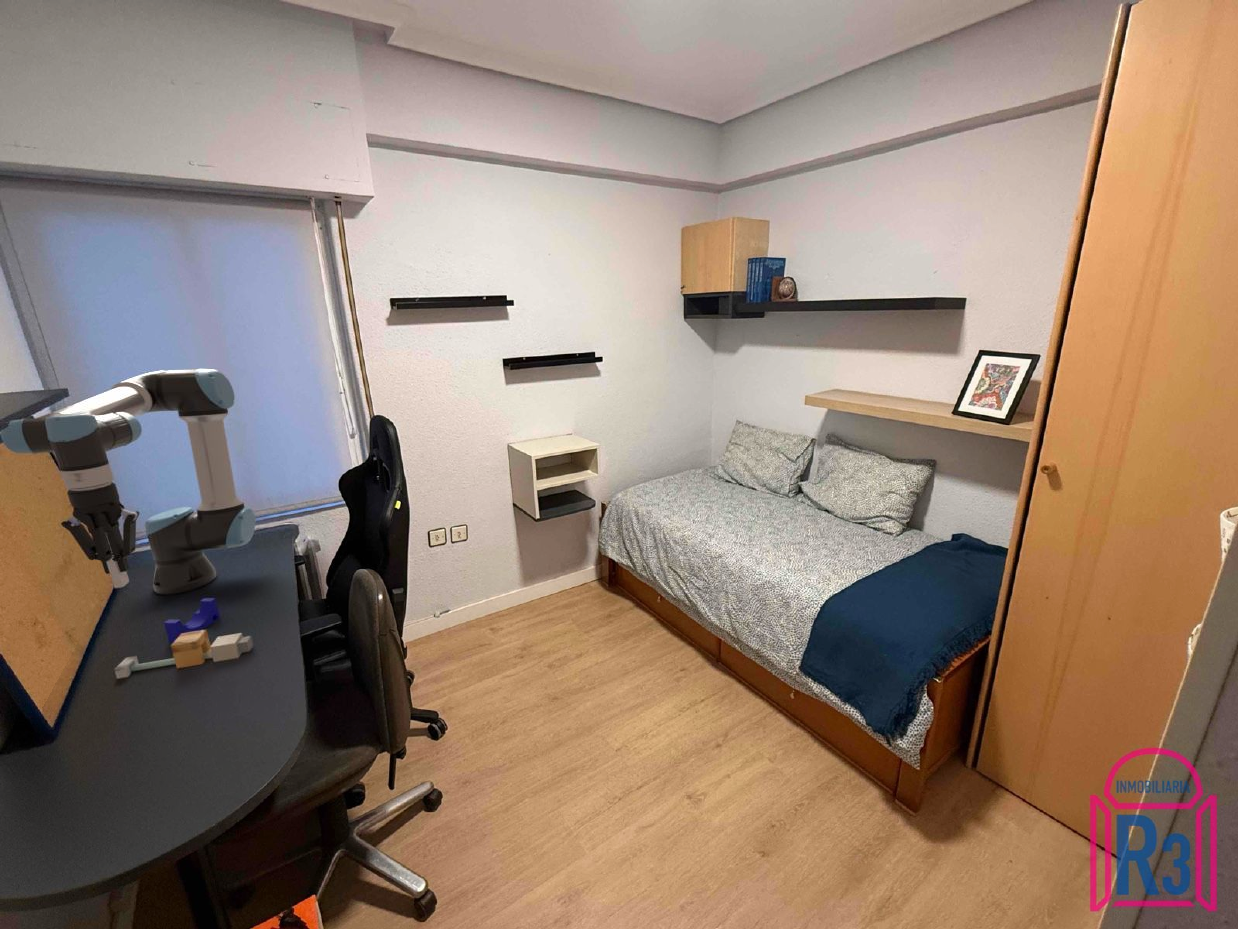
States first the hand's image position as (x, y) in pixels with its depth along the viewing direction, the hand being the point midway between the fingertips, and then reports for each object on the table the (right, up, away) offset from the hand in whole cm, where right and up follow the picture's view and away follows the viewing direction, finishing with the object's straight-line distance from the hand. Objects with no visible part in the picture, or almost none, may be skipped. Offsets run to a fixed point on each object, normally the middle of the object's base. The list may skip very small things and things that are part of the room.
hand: (122, 584), depth 119 cm
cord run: (+11, -19, +5) cm, 23 cm away
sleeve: (+12, -19, +6) cm, 23 cm away
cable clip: (+1, -16, +19) cm, 25 cm away
